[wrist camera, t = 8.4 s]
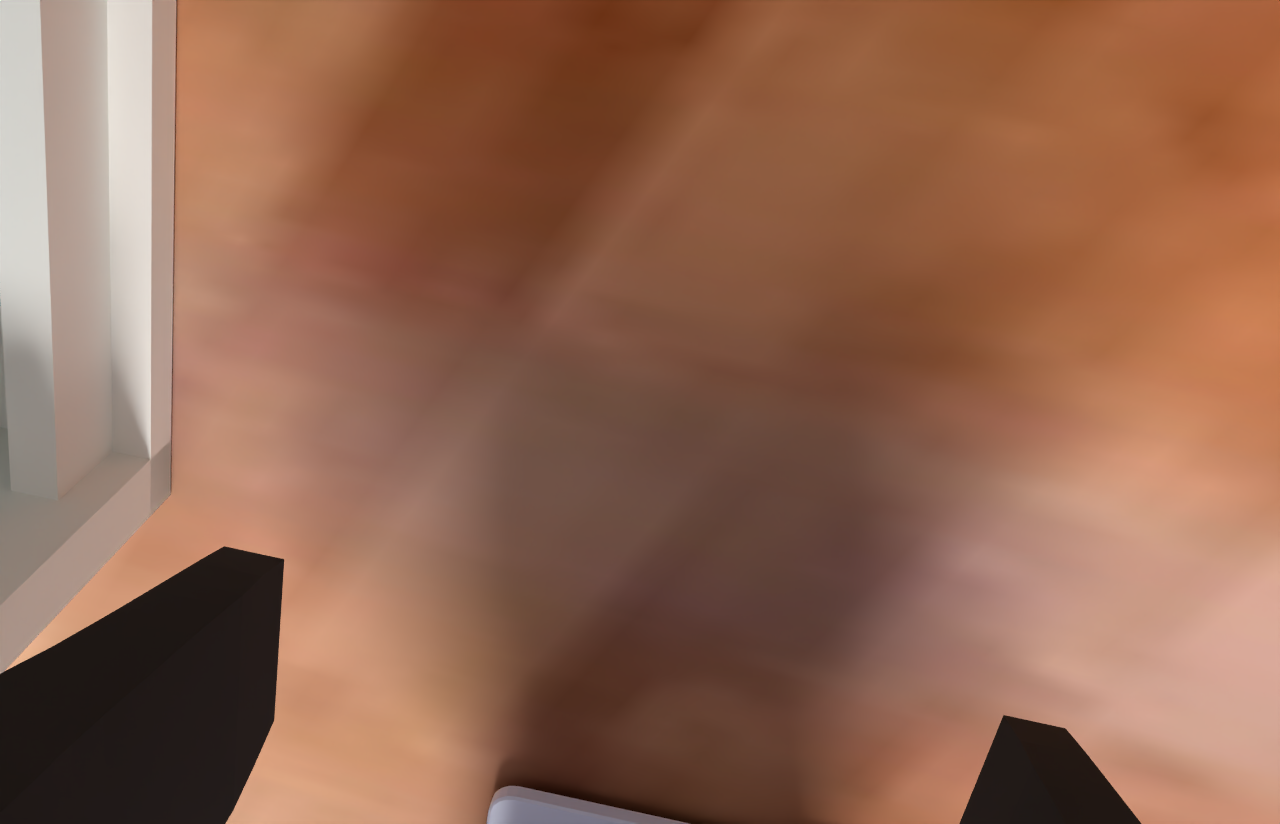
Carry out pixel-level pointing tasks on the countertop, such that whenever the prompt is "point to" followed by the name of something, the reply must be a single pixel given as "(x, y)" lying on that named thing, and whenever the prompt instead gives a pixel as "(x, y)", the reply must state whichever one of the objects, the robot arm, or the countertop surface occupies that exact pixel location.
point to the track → (82, 293)
